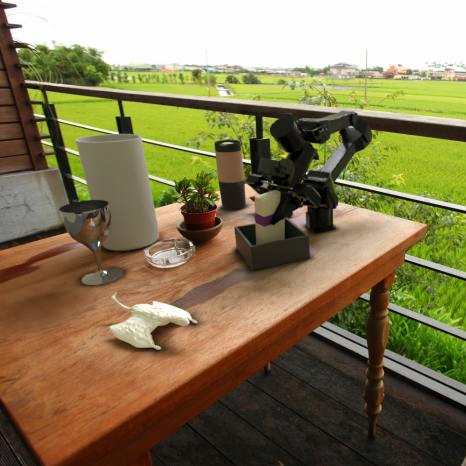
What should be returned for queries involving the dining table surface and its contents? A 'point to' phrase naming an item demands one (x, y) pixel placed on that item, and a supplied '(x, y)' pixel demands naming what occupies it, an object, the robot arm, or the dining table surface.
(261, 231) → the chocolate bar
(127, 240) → the cylinder vase
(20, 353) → the dining table surface
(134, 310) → the winged dragon toy
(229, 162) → the travel mug
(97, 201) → the silver goblet
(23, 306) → the dining table surface
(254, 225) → the open storage bin
